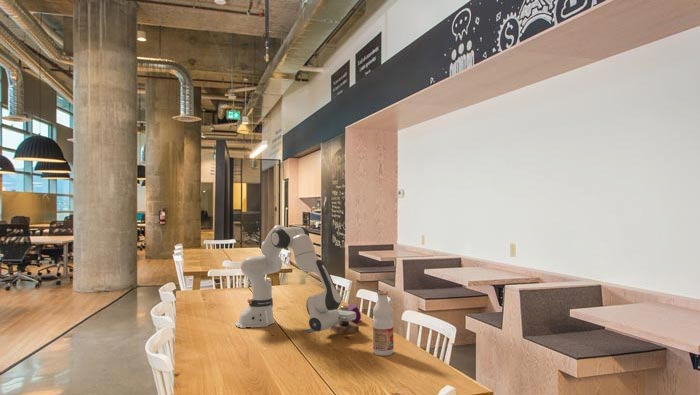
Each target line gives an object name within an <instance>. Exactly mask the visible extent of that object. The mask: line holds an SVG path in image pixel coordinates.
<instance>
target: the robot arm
mask: <svg viewBox="0 0 700 395" xmlns="http://www.w3.org/2000/svg"><path fill="white" fill-rule="evenodd" d="M261 244H262V245H261V247H260V250H261V254H262V255H258V256H257V255H256V256H250V257H247V258H244V259H243V260H242V262H241V264H240V270H241V272H242V274H243V275H244V276H246V277H247V279H248V280H249V281H250V284H251V290H252V291H251V292H252V298H251V299H250V298H248V299H247V300H246V301H247V303H248V306H247V307H246V308H245V309H243V310H242V311H241V313H240V314H239V317H238V320H236V321H235V322H234V324H235V327H236V326H237V327H236V328H238V327H240V328H239V329H246V327H251V328H265V327H269V326H271V325H273V324H274V323H275V317H274V311H273V307H274V300H273V297H272V296H273V291H272V290H273V289H272V288H273V287H272V286H273V285H272V284H271V283H270V282H269V281H268V280H265V275H269V274H270V275H271V274H274V273H277V272H279V271H281V270H282V267H283V261H282V258H281V257H280V254H281V252H282V250H283V249H288V248H289V249H290V248H291V250H292V251H293V255H294V260H295V263H296V267H298V268H299V269H300V270H301V271H303V272H307V273H313V274H314V273H315V274H317V275H318V277H319V279H320V281H321V284H322V286H323V289H324V291H323V292H320V293H319V292H318V293H316V294H314V295H313V294H312V295H310V296H309V297H308V298H307V300H306V303H305V304H306V305H305V308H306V311H307V313H308V315H309V319H308V325H309V329H310V328H311V329H312V330H314V331H316V332H324V331H325V330H328V329H329V328H330V327H332V326H334V325H337V324H338V323H339V321H352V320H355V319H356V313H355V312H353V311H342V310H339V308H340V306H341V303H342V297H341V295H340V292H339V291H338V290H337V288H336V286H335V284H334V280H333V279H332V276H331V275H330V272H329V270H328V268H327V266H326V264H325V262H324V261H323V260H321V259H320V258H319V257H318V255H317V252H316V249H315V247H314V244H313V242H312V239H311V238H310V232H309V230H308V229H307V228H306V227H304V226H289V227H286V226H283V225H281V224H278V225H275V226H274V227H273V228H271V230H270V231H269V232H268V233H267V235H266V237H265V239H264V241H263V242H262V243H261Z"/></svg>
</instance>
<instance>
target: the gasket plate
mask: <svg viewBox="0 0 700 395" xmlns="http://www.w3.org/2000/svg"><path fill="white" fill-rule="evenodd" d="M301 331H302V332H305V333H306V334H307V333H308V334H311V333H316V332H317V331H314V330H312V329H311V328H310V327H309V328H307V329H302V330H301Z"/></svg>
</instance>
